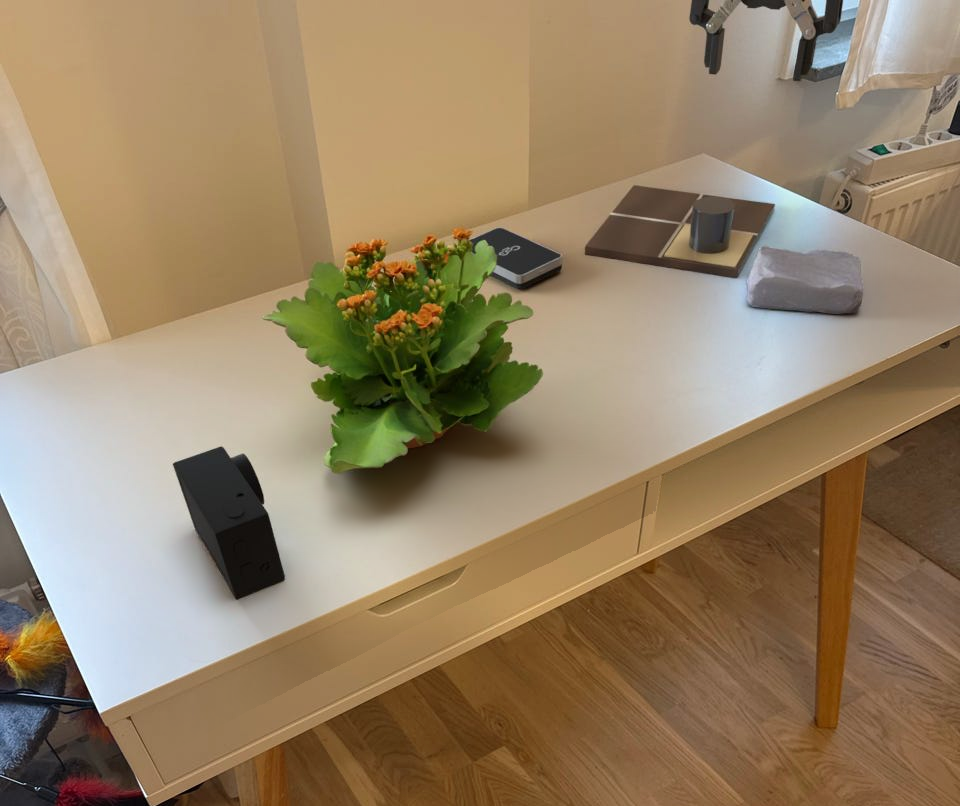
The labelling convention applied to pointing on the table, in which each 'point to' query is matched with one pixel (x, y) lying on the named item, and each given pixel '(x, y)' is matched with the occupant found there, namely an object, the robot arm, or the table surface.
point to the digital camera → (231, 518)
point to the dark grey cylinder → (711, 224)
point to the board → (675, 232)
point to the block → (805, 281)
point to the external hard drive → (519, 258)
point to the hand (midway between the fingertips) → (756, 75)
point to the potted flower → (407, 346)
